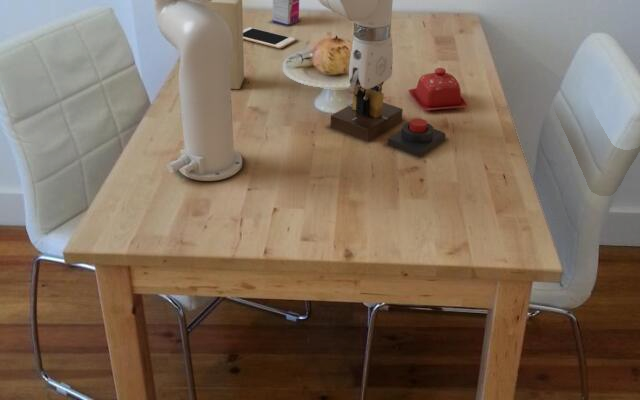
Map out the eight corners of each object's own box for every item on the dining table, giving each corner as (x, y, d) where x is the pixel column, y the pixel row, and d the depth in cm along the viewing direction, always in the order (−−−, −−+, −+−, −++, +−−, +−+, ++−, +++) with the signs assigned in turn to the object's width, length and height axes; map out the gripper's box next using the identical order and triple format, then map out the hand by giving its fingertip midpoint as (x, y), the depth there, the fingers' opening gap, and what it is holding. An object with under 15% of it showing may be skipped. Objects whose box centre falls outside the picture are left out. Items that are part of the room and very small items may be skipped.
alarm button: (420, 135, 153) (421, 127, 152) (405, 130, 155) (406, 122, 154) (429, 129, 156) (430, 121, 155) (415, 124, 157) (415, 116, 156)
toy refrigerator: (245, 77, 184) (242, -7, 173) (240, 89, 178) (236, 3, 166) (214, 75, 184) (209, -9, 173) (207, 87, 178) (201, 1, 167)
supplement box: (288, 26, 216) (288, -13, 209) (272, 22, 218) (271, -17, 212) (299, 21, 220) (300, -18, 213) (283, 17, 222) (283, -22, 216)
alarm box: (419, 157, 152) (421, 142, 150) (387, 145, 156) (388, 130, 154) (444, 140, 158) (446, 125, 156) (413, 128, 162) (414, 114, 160)
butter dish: (421, 115, 168) (424, 80, 163) (406, 94, 178) (409, 60, 173) (469, 111, 170) (473, 77, 166) (451, 90, 180) (455, 57, 175)
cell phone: (280, 49, 200) (280, 46, 200) (232, 36, 207) (232, 34, 207) (296, 40, 206) (296, 38, 205) (249, 28, 213) (249, 26, 212)
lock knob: (382, 114, 161) (383, 92, 158) (376, 118, 160) (377, 95, 157) (358, 106, 164) (359, 84, 162) (352, 109, 163) (353, 87, 160)
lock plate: (369, 142, 157) (369, 129, 155) (329, 127, 162) (329, 114, 160) (402, 121, 165) (404, 108, 163) (363, 107, 171) (364, 95, 169)
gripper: (363, 46, 145) (358, 130, 155) (409, 24, 155) (402, 104, 165) (333, 36, 149) (330, 119, 159) (380, 16, 159) (375, 95, 169)
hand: (367, 111), depth 162 cm, fingers open, 3 cm apart
